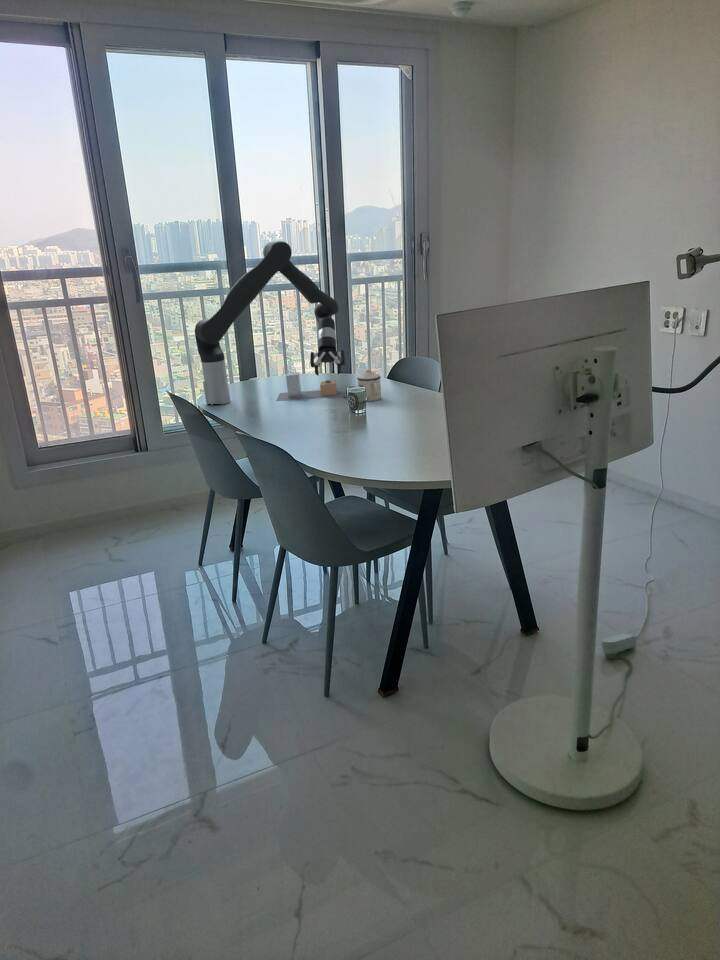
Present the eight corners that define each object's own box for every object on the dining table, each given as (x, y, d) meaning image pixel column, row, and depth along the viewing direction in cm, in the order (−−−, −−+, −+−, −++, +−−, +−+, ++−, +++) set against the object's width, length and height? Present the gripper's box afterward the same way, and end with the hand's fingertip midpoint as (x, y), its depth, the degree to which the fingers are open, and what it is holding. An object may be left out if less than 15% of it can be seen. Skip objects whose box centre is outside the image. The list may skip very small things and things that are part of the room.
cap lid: (321, 395, 265) (320, 382, 263) (321, 392, 271) (320, 379, 269) (336, 394, 265) (335, 381, 263) (336, 391, 270) (335, 378, 269)
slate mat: (276, 402, 262) (275, 401, 261) (280, 394, 275) (279, 392, 275) (346, 397, 261) (346, 396, 261) (346, 389, 274) (346, 388, 274)
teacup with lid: (355, 398, 259) (353, 369, 255) (376, 394, 262) (374, 365, 258) (366, 404, 249) (364, 374, 244) (388, 401, 251) (386, 370, 247)
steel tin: (288, 397, 266) (285, 375, 262) (289, 394, 270) (287, 373, 267) (300, 396, 265) (298, 374, 262) (301, 393, 270) (299, 372, 267)
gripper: (309, 336, 271) (309, 369, 264) (343, 334, 271) (344, 367, 264) (311, 347, 278) (311, 380, 271) (344, 345, 277) (346, 377, 271)
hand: (328, 373), depth 268 cm, fingers open, 8 cm apart
